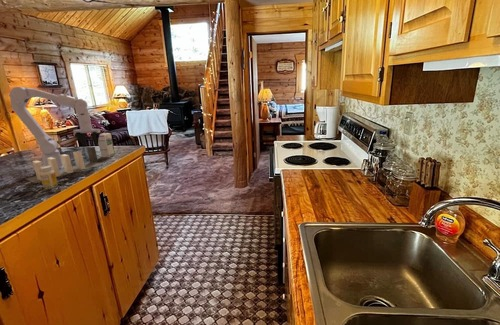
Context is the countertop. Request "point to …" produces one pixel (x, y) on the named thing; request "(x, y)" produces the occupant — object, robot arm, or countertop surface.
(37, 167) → the domino
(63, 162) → the domino
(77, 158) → the domino
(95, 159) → the domino
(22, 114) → the robot arm
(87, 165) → the mat
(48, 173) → the supplement bottle
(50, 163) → the domino
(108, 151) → the syrup box
